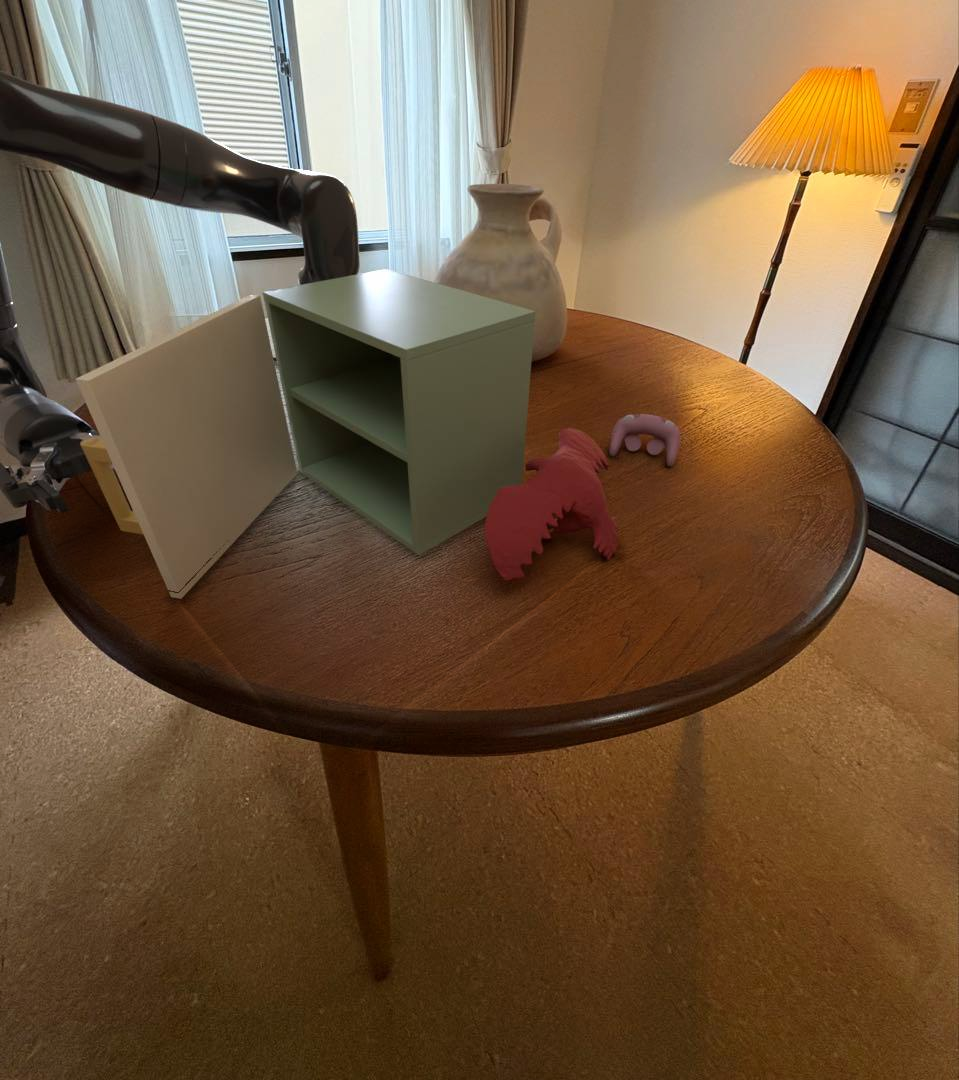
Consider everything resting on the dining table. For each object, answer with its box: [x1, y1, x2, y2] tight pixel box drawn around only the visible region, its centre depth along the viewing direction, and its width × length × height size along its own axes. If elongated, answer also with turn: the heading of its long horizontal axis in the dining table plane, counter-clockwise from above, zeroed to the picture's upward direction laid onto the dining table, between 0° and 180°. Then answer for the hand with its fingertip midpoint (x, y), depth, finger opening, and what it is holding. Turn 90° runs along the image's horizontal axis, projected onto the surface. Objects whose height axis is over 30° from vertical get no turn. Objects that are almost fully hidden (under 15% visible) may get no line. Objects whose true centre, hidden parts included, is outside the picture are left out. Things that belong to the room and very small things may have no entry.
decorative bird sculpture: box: [483, 427, 621, 581], centre depth 65 cm, size 28×9×15 cm
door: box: [75, 294, 298, 600], centre depth 62 cm, size 8×26×24 cm, turn 167°
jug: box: [433, 183, 568, 363], centre depth 111 cm, size 29×34×30 cm
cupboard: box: [261, 268, 535, 556], centre depth 70 cm, size 18×26×24 cm
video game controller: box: [608, 413, 681, 467], centre depth 84 cm, size 10×5×7 cm, turn 71°
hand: (108, 485), depth 56 cm, fingers open, 8 cm apart
